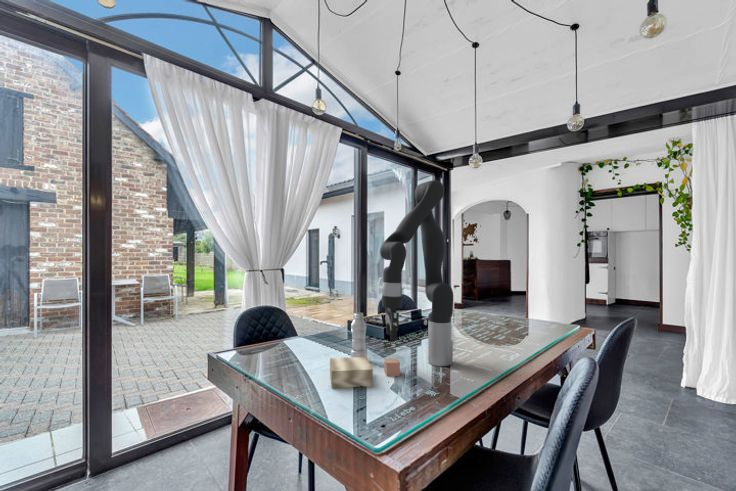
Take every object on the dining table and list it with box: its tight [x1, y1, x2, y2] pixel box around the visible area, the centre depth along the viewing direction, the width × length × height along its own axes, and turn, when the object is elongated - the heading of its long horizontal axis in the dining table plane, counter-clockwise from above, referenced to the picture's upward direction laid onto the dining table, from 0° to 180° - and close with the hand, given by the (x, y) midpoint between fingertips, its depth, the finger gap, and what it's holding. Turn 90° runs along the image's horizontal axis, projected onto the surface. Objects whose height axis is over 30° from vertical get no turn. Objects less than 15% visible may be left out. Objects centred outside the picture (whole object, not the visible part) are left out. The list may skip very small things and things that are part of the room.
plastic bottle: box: [350, 312, 368, 358], centre depth 143 cm, size 6×7×20 cm
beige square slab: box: [329, 356, 374, 389], centre depth 123 cm, size 14×14×6 cm
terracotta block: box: [383, 357, 401, 377], centre depth 129 cm, size 5×5×5 cm
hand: (391, 337), depth 129 cm, fingers open, 8 cm apart
